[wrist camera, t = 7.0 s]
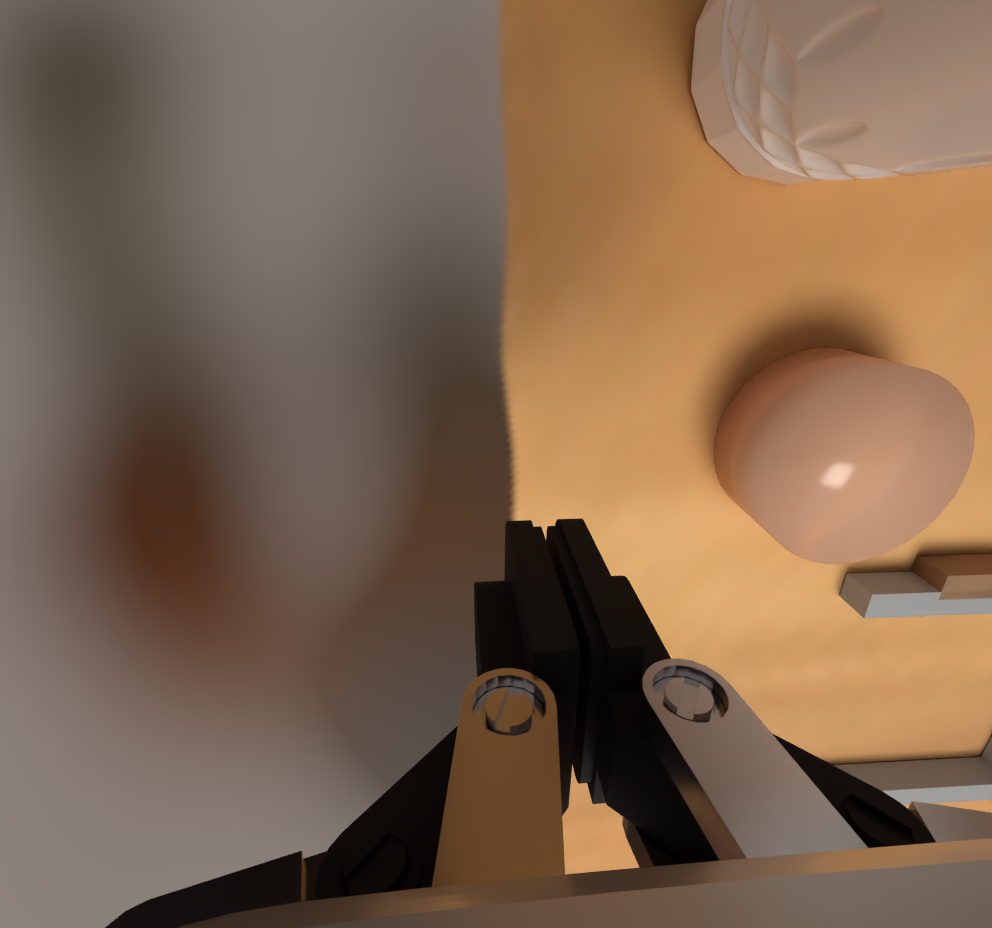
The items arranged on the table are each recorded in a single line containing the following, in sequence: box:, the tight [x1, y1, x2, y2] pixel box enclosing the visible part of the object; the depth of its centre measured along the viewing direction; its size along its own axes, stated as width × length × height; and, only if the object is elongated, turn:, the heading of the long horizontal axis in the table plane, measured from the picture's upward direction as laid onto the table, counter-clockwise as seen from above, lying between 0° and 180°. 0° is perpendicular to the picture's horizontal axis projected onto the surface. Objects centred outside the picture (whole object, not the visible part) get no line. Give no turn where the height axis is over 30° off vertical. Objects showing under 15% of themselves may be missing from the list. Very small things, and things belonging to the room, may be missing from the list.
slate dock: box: [833, 571, 992, 805], centre depth 25 cm, size 12×13×2 cm
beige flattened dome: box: [714, 347, 974, 564], centre depth 18 cm, size 7×7×4 cm
